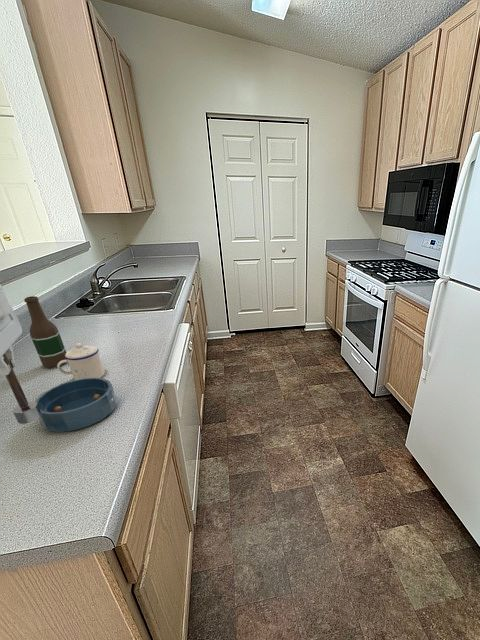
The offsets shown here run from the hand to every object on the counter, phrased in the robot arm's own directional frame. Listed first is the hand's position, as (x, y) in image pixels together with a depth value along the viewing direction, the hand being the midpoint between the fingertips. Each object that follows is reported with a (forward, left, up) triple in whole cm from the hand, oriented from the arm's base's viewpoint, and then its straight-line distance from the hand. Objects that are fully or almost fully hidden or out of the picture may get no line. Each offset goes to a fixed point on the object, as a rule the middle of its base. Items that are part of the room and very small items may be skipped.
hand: (8, 370), depth 69 cm
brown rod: (0, 0, -12) cm, 12 cm away
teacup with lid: (+4, +34, -21) cm, 40 cm away
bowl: (+6, +12, -20) cm, 24 cm away
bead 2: (+10, +16, -19) cm, 27 cm away
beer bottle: (-7, +50, -21) cm, 54 cm away
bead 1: (+1, +13, -19) cm, 23 cm away
